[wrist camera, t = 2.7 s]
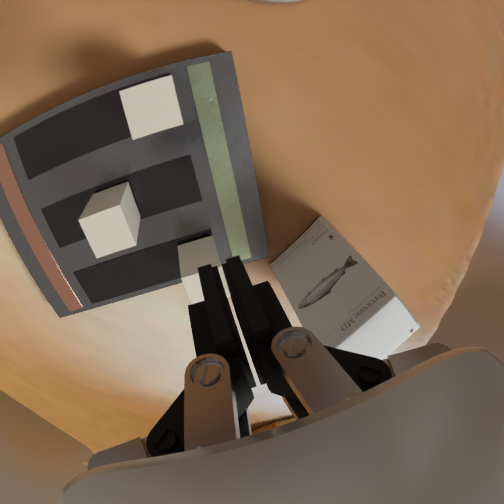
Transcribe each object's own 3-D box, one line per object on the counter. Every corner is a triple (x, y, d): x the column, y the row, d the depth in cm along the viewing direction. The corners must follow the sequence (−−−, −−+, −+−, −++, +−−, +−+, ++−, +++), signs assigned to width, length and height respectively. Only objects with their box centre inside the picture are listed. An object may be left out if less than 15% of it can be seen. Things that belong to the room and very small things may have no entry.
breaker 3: (177, 245, 24) (181, 278, 21) (212, 235, 25) (221, 266, 21) (188, 273, 26) (193, 308, 22) (220, 264, 26) (231, 296, 23)
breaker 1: (92, 194, 20) (78, 220, 16) (127, 181, 20) (119, 204, 17) (106, 227, 22) (96, 258, 18) (140, 216, 22) (136, 245, 19)
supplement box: (320, 211, 29) (399, 292, 18) (354, 251, 33) (423, 327, 22) (266, 263, 30) (318, 361, 20) (307, 295, 34) (359, 381, 24)
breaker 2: (129, 90, 17) (119, 91, 13) (171, 77, 17) (171, 75, 14) (139, 128, 19) (132, 140, 15) (180, 116, 19) (183, 124, 15)
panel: (-17, 150, 16) (-26, 154, 15) (227, 52, 19) (231, 50, 18) (62, 308, 27) (59, 318, 25) (264, 247, 29) (269, 256, 28)
